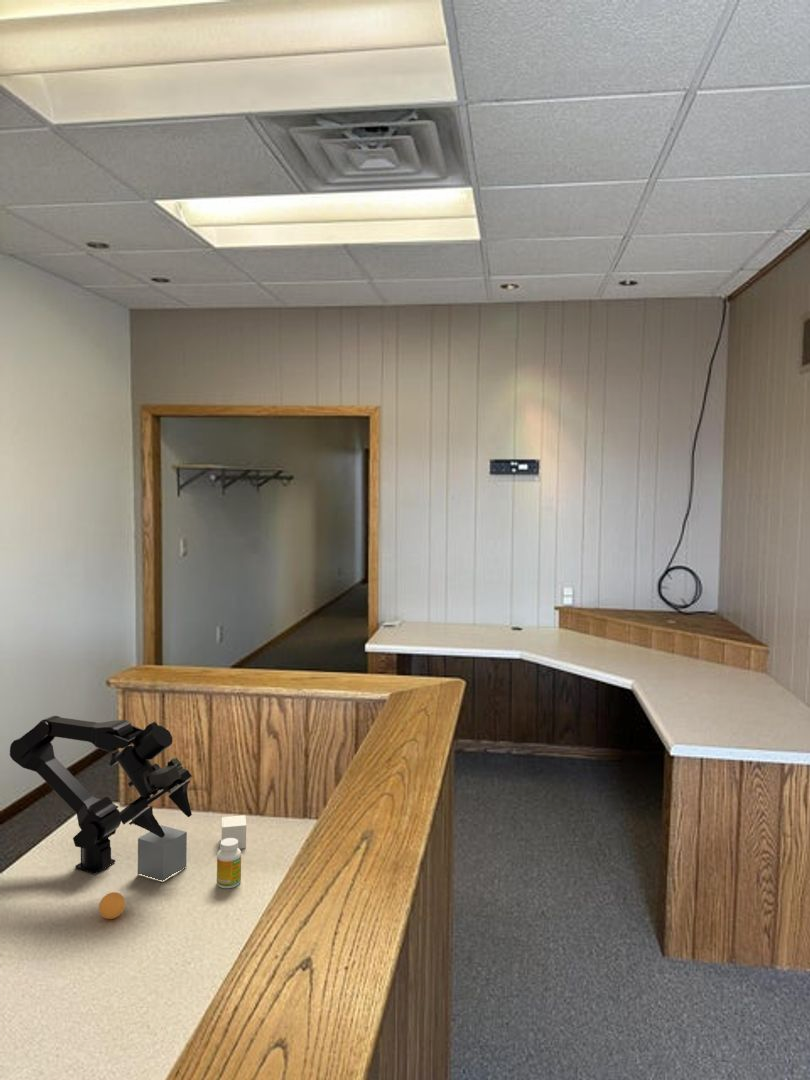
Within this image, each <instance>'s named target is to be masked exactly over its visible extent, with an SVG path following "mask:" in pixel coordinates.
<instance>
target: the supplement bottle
mask: <svg viewBox="0 0 810 1080" xmlns="http://www.w3.org/2000/svg"><path fill="white" fill-rule="evenodd" d="M219 848H220V850H218V852H217V854H216V885H217V886H218V887H219V888H221V889H232V888H235V887H237V886H239V885H240V884H241V880H242V851H241V848H240V849H239V848H238V840H237V839H235V838H226V839H223V840H222V841H220V845H219ZM239 883H240V884H239Z"/></svg>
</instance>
